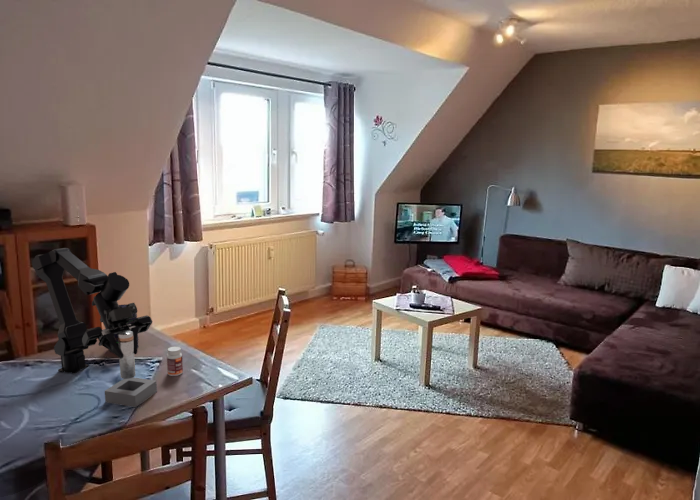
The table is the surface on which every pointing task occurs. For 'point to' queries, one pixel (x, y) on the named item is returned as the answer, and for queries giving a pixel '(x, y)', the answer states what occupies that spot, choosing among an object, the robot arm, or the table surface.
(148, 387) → the socket block
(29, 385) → the table surface
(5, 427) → the table surface
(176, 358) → the pill bottle
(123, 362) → the frosted bottle
